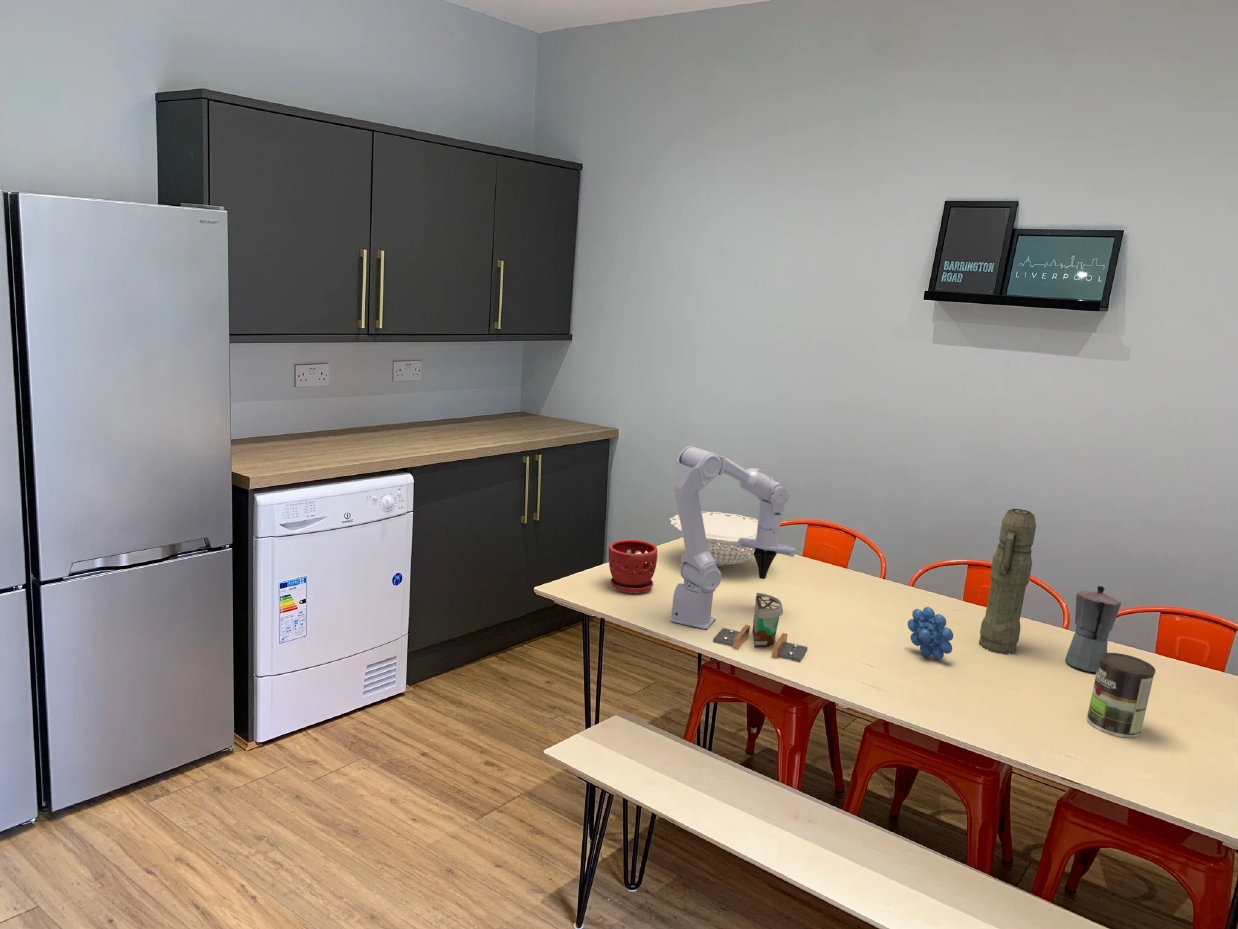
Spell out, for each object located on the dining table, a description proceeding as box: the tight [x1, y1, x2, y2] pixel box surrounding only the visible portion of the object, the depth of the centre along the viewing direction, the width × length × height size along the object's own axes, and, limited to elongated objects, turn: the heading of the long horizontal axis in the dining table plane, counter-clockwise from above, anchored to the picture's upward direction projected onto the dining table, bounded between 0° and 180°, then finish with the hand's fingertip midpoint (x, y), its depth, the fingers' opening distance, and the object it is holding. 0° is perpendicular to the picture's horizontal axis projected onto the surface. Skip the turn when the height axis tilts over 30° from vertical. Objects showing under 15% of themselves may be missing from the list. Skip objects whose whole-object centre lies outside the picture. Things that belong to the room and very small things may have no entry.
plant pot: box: [608, 539, 659, 595], centre depth 248 cm, size 13×13×12 cm
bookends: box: [712, 624, 809, 663], centre depth 217 cm, size 21×10×2 cm, turn 67°
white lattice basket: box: [669, 510, 758, 567], centre depth 273 cm, size 32×32×13 cm
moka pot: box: [1064, 585, 1122, 673], centre depth 219 cm, size 10×15×20 cm, turn 161°
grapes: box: [907, 606, 954, 661], centre depth 217 cm, size 12×7×12 cm, turn 45°
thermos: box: [978, 508, 1037, 655], centre depth 225 cm, size 9×12×35 cm
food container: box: [751, 592, 784, 649], centre depth 219 cm, size 12×6×10 cm, turn 175°
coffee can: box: [1086, 652, 1156, 739], centre depth 189 cm, size 10×10×14 cm
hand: (762, 577), depth 237 cm, fingers closed
